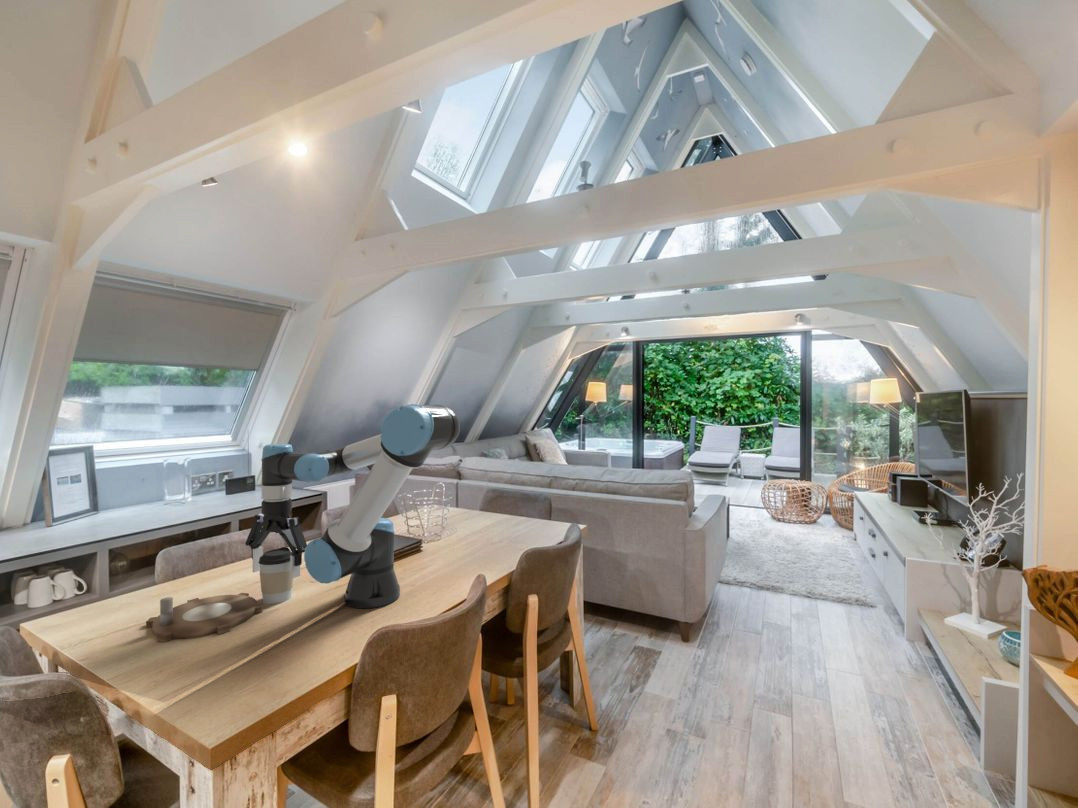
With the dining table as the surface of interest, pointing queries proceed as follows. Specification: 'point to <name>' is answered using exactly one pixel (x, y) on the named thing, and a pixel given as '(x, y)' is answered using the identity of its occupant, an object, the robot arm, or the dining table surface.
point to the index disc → (202, 616)
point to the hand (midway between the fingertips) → (276, 574)
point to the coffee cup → (275, 575)
